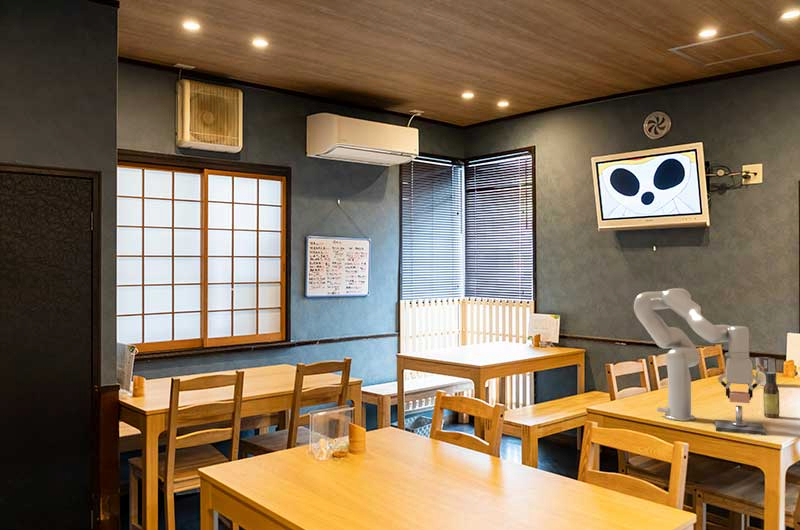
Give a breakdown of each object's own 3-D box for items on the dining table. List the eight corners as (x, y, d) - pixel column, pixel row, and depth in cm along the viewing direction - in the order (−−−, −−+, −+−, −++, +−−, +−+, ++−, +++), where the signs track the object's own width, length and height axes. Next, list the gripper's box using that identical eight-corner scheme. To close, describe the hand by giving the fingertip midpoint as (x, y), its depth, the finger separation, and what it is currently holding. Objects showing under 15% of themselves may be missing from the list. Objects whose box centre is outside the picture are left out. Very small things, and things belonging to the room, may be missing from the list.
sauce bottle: (781, 418, 292) (781, 374, 292) (766, 418, 293) (766, 373, 294) (776, 415, 298) (776, 372, 299) (761, 415, 300) (761, 371, 300)
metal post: (731, 426, 271) (731, 406, 271) (731, 423, 277) (730, 404, 277) (747, 427, 269) (747, 407, 269) (746, 424, 274) (746, 405, 274)
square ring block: (730, 401, 271) (729, 393, 271) (729, 398, 278) (729, 390, 278) (749, 403, 268) (749, 394, 268) (748, 400, 275) (748, 391, 275)
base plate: (716, 430, 269) (716, 427, 269) (714, 422, 284) (714, 419, 284) (765, 435, 262) (765, 431, 262) (761, 426, 276) (761, 423, 276)
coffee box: (777, 386, 377) (777, 358, 377) (768, 387, 375) (768, 359, 375) (763, 383, 385) (763, 356, 386) (755, 384, 383) (755, 357, 384)
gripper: (716, 355, 273) (716, 398, 273) (763, 358, 266) (763, 401, 266) (715, 353, 280) (715, 395, 280) (761, 355, 273) (761, 398, 273)
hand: (739, 398), depth 273 cm, fingers closed on square ring block, 7 cm apart
